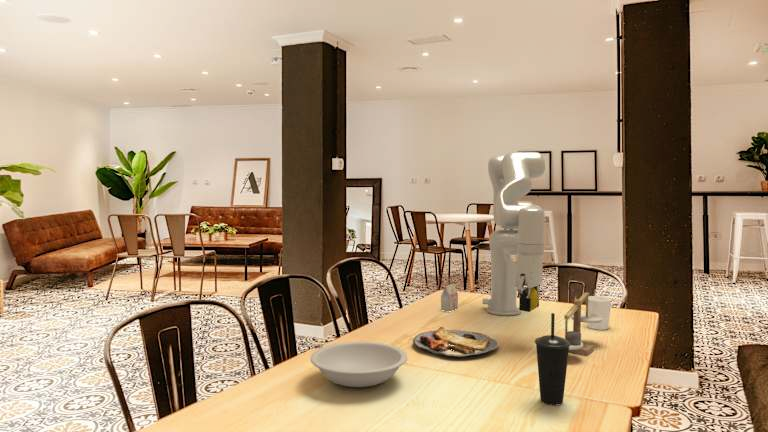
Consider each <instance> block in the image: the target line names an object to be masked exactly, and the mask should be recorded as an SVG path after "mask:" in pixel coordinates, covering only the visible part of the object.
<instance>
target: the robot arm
mask: <svg viewBox="0 0 768 432" xmlns="http://www.w3.org/2000/svg"><path fill="white" fill-rule="evenodd" d="M487 165H488V166H487V168H488V169H487V171H488V175H489V179H490V182H491V186H492V189H493V202H492V203H493V204H492V205H493V209H492V210H493V213H492V214H493V220H494V224H496V225H497V226H499V227H500V228H502V229H497V230H494V231H492V232H491V233H490V234H489V239H488V243H489V251H490V252H489V253H490V259H491V260H490V264H491V266H490V267H491V268H490V271H491V272H490V273H491V274H490V275H491V277H490V298H486V297H485V298H482V301H481V303H482V305H487V307H486V312H488V313H489V314H492V315H496V316H517V315H520V313H521V312H527V313H530V302H531V298H529V296H530V290H531V288H535V289H536V290H537V292H538V294H539V295H540V292H541V291H540V289H541V284H542V283H543V277H544V275H543V271H544V270H543V267H544V266H543V265H544V264H543V256H544V252H545V250H544V249H545V245H544V244H545V219H546V217H545V216H546V213H545V210H544V209H543V208H542V207H541V206H540V205H536V204H534V203H533V202H532V201H528V200H522V201H521V200H520V201H519V200H517V199H519V198H521V197H524V196H526V195H527V194H529V193H530V192H531V190H532V187H533V182H532V179H536V178H540V177H542V176H543V175H544V173H545V171H546V160H545V158H544V156H543V155H542V154H541V153H540V152H539V151H538V152H537V151H514V152H510V153H509V152H508V153H506V154H504V155H501V154H500V155H494V156H492V157H491V158H490V159H488V164H487ZM515 255H516V256H517V257H516V262H515V261H514V260H513V259H512V258H511V256H515ZM527 287H528V288H527ZM524 289H525V290H527V293H526V291H525V290H524ZM517 291H518V293H517ZM517 294H518V298H519V302H518V303H519V304H518V305H519V307H517ZM539 306H540V303H539V304H538V306H537V307H536V308H539Z"/></svg>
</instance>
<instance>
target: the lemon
mask: <svg viewBox="0 0 768 432" xmlns="http://www.w3.org/2000/svg"><path fill="white" fill-rule="evenodd" d="M526 287H527V286H526ZM527 288H528V287H527ZM524 290H525V289H524ZM525 291H526V293H527V290H525ZM529 298H531V302H530V312H531V311H533V310H536V309H537V308H538V307H537V306H538V304H539V305H540V293H539V294H538V292H537V290H536V289H535V288H531V290H530V296H529ZM530 312H529V313H530Z"/></svg>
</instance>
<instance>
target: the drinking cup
mask: <svg viewBox="0 0 768 432" xmlns="http://www.w3.org/2000/svg"><path fill="white" fill-rule="evenodd" d="M550 314H551V316H550V317H551V318H550V319H551V320H550V324H551V325H550V334H548V335H543V336H540V337H537V338H535V340H534V343H535V345H536V346H535V347H536V348H535V349H536V357H537V358H536V359H537V361H536V362H537V370H538V385H539V396H540V398H539V399H540V402H541V403H543V402H544V403H543V404H545V403H547V404H546V405H549V404H552V405H551V406H557V405H556V404H560V405H562V404H563V403H564V396H565V395H564V394H565V388H566V387H565V386H566V377H567V370H568V369H567V368H568V361H569V360H568V359H569V353H570V352H569V347H570V345H571V343H570V342H569V341H568V340H565V339H564V338H565V337H562V336H558V335H555V316H556V315H555V313H554V312H552V313H550ZM561 403H562V404H561ZM553 404H554V405H553Z"/></svg>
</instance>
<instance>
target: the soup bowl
mask: <svg viewBox="0 0 768 432" xmlns="http://www.w3.org/2000/svg"><path fill="white" fill-rule="evenodd" d="M407 361H408V354H407V352H406V351H405V350H404V349H402V348H400V347H397V346H395V345H393V344H389V343H383V342H378V341H363V340H361V341H360V340H359V341H347V342H346V341H345V342H338V343H334V344H328V345H327V346H323V347H321V348H318V349H317V350H315V351H313V353H311V355H310V362H311V364H312V365H313V366H314V367H316V368H318V369H319V371H320V372H321V373H322V374H323V376H324V377H326V378H327V379H328V380H329V381H331V382H333V383H335V384H337V385H340V386H343V387H350V388H367V387H372V386H377V385H379V384H382V383H384V382H386V381H388V380H389V379H390V378H392V377H393V376H394V374H396V373H397V371H398V370H399V368H400V367H402V366H403V365H404V364H406V362H407Z"/></svg>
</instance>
